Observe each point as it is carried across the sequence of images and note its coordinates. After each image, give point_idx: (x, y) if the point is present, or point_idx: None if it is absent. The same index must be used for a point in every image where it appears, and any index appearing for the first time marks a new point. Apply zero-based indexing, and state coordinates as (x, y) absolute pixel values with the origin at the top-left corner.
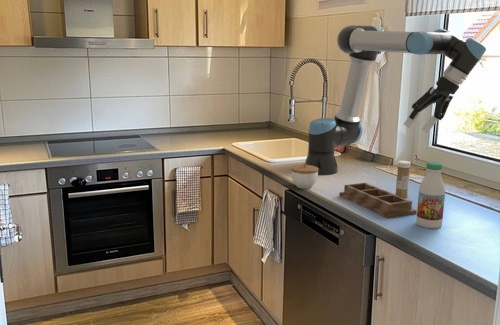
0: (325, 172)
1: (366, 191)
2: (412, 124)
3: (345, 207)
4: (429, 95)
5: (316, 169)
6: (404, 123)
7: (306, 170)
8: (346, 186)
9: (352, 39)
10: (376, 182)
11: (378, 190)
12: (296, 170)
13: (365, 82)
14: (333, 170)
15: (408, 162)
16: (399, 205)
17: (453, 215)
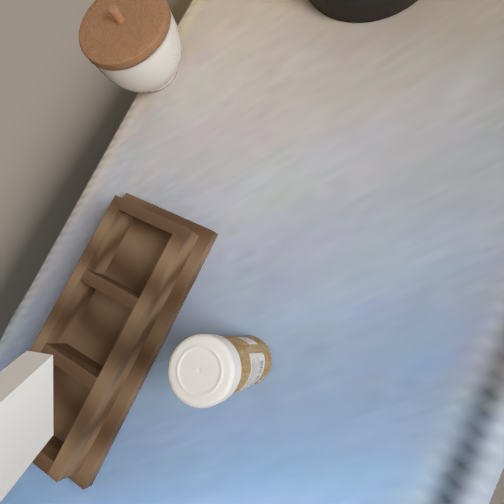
0: (327, 8)
1: (94, 287)
2: (12, 486)
3: (41, 274)
4: None
5: (121, 59)
6: (15, 366)
7: (89, 50)
8: (110, 206)
9: None
10: (371, 194)
11: (133, 312)
12: (80, 28)
13: None
14: (362, 11)
15: (197, 398)
16: None
17: None
